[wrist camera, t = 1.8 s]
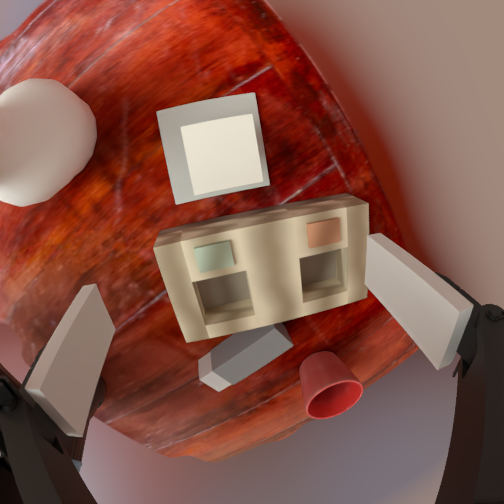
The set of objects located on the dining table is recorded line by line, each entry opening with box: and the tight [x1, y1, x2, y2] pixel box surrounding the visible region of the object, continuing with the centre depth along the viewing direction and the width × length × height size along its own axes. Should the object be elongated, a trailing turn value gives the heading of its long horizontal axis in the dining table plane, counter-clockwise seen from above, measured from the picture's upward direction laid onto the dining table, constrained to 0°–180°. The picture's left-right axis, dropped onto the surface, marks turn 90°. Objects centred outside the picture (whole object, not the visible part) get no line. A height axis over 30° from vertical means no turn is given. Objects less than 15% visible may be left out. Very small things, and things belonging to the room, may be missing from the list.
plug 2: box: [198, 322, 294, 392], centre depth 43 cm, size 15×5×5 cm, turn 128°
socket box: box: [153, 193, 369, 343], centre depth 37 cm, size 26×14×6 cm, turn 99°
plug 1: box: [181, 114, 263, 196], centre depth 26 cm, size 5×5×15 cm
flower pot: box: [299, 351, 363, 419], centre depth 46 cm, size 11×11×10 cm
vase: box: [0, 79, 97, 207], centre depth 19 cm, size 14×14×20 cm
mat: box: [156, 93, 270, 205], centre depth 33 cm, size 12×12×1 cm
